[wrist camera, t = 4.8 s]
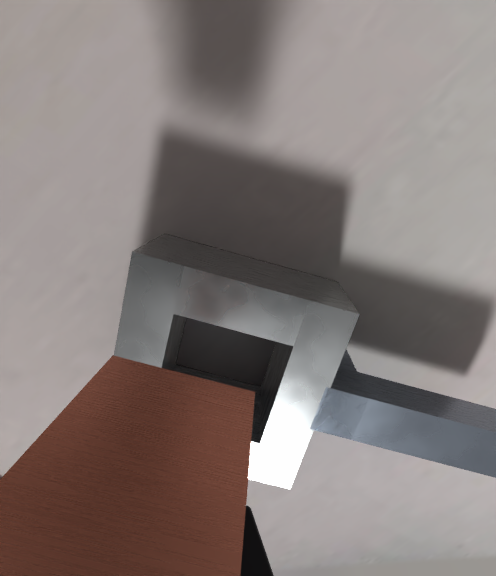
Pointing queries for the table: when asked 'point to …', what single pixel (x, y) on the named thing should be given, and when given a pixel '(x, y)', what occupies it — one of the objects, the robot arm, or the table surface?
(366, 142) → the table surface
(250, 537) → the robot arm
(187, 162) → the table surface
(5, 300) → the table surface
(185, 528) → the square peg
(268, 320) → the square frame with handle
